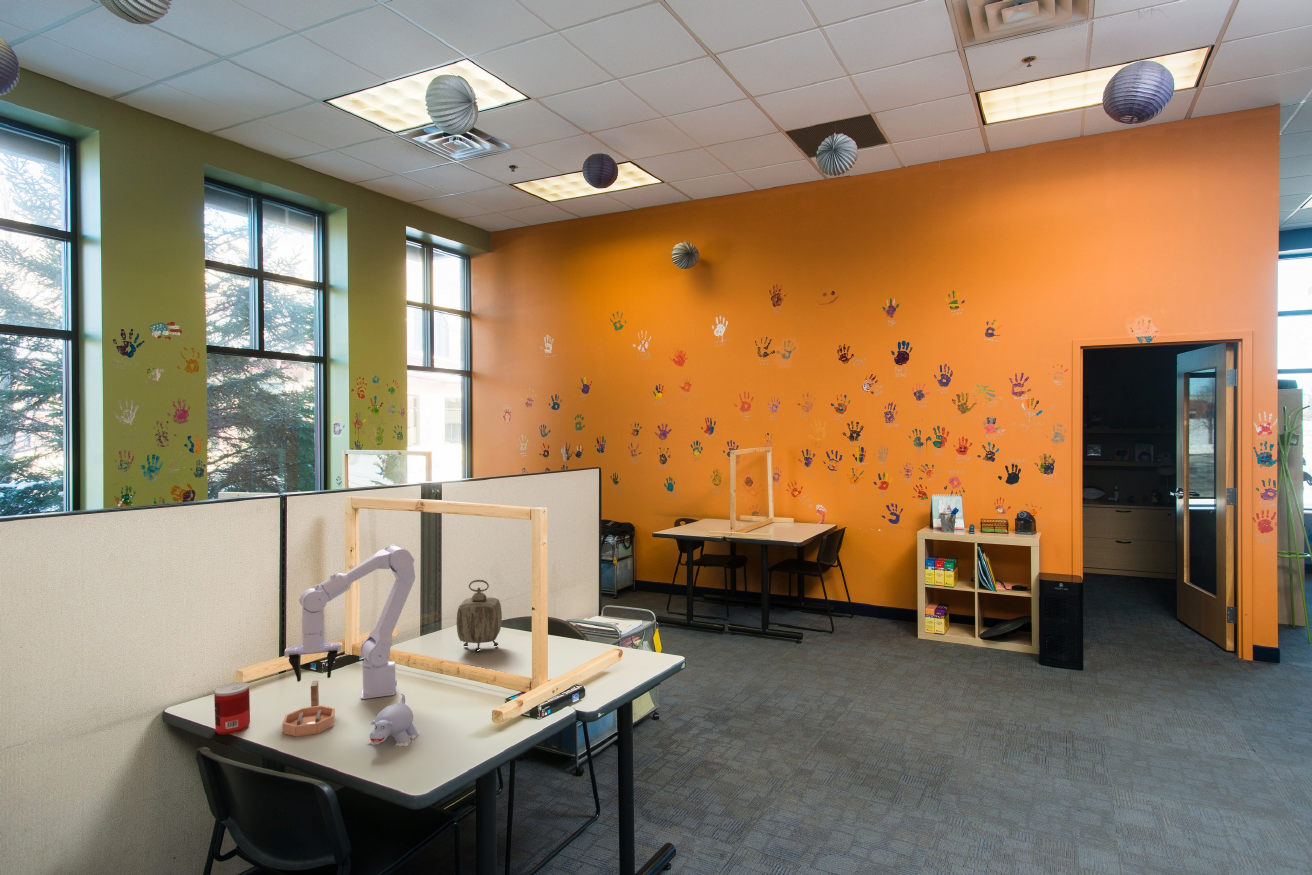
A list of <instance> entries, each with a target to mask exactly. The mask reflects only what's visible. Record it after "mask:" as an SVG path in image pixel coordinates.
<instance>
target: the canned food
mask: <svg viewBox="0 0 1312 875" xmlns="http://www.w3.org/2000/svg"><path fill="white" fill-rule="evenodd" d="M213 695H214V725H215V726H214V727H215V728H214V729H215V732H216V733H217V734H218V735H233V734H237V733H239V732H240V733H241V732H242V731H244V730H246V729H247V728H248V727H249V726H250V725H251V724H250V723H251V714H250V713H251V706H250V705H251V702H250V700H251V698H250V696H251V695H250V684H249V683H247V682H231V683H227V684H224V685H222V686H218V688H216V689H215V690H214V694H213Z"/></svg>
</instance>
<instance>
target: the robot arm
mask: <svg viewBox="0 0 1312 875" xmlns="http://www.w3.org/2000/svg"><path fill="white" fill-rule="evenodd" d="M414 563H415V559H414V557H413V555H412V554H411V552H410V551H409V550H408V549H405V548H402V547H400V546H399V545H397V544H391V545H388V546H386V547H385V548H382V549H380V550H378V551H377V552H376V553H374V554H373V555H371V556H370V557H368V558H367V559H365V560H364V561H362V562H361V563H359V564H358V565H356V566H354V567H353V568H351V569H350V570H349V571H347V572H345V573H342V572H338V573H332V574H330V575H329V578H327V579H326V580H324V581H322V582H320V583H319V584H318V583H316V584H314V585H313V587H312V588H311V587H310V588H307V589H305V590H304V591H303V592H302V594H301V595H300V596H299V597H300V598H299V603H300V605H301V606H302V609H301V610H302V611H301V612H302V616H301V635H302V636H301V638H302V639H301V640H302V642H301V643H302V645H300V646H299V645H298V646H294V647H287V648H285V650H284V658H288V663H289V664H290V665H291V667H292V670H293V671H294V674H295V677H296V681H297V683H299V682H301V680H302V672H301V670H302V669H301V662H302V661H301V660H302V659H301V657H302V656H303V655H306V656H307V655H312V654H313V655H314V654H322V653H327V655H326V660H327V661H326V662H327V674H326V676H327V677H326V678H327V679H330V678H331V675H332V669H333V665H334V662H335V660H336V658H337V655H338V653H339V652H342V651H343V644H342V643H343V642H335V643H334V642H332V643H330V642H328V643H327V642H326V641H325V640H326V639H325V638H326V636H325V634H326V632H325V612H324V611H325V610H324V609H325V607H326V605H327V603H330V602H331V601H333V600H334V599H335V598H337V597H339V596H340V595H342V594H344V593H345V592H347V591H349V590H350V588H351V585H352V583H354V582H356V581H358V580H359V579H362V578H363V577H365V576H367V575H368V574H371V573H373V572H374V571H376V570H379V569H380V570H391V572H392V574H393V575H394V576H393V577H395V581H394V583H393V585H392V587H391V590H390V593H389V595H388V597H387V599H386V601H385V604H384V606H383V609H382V611H381V614H380V616H379V618H378V621H377V623H376V625H375V627H374V629H373V630H371V632H370V633H369V635H368V637H367V638H366V639H365V640H364V641H362V643H361V646H360V653H361V656H362V657H363V658H364V659H363V662H362V688H361V696H360V699H361V700H366V699H372V698H373V699H375V698H380V697H388V696H395V695H396V690H397V689H396V688H397V684H398V682H397V681H398V680H397V679H396V674H397V673H396V661H390V656H391V647H392V645H393V633H394V630H395V628H396V626H397V623H398V620H399V618H400V616H401V614H402V612H403V609H404V606H405V604H406V602H407V600H408V597H409V594H410V592H411V589H412V587H413V584H414V582H415V580H416V575H415V566H414Z"/></svg>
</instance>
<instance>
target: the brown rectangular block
mask: <svg viewBox="0 0 1312 875" xmlns="http://www.w3.org/2000/svg"><path fill="white" fill-rule="evenodd" d="M319 696H320V695H319V680H312V682H311V685H310V707H313V706H320V705H319V704H320V703H319V701H320V700H319V698H320V697H319Z"/></svg>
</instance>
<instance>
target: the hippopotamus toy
mask: <svg viewBox="0 0 1312 875" xmlns="http://www.w3.org/2000/svg"><path fill="white" fill-rule="evenodd" d="M400 695H401V698H400V699H401V700H400V702H398V703H393V704H391V705H390V704H389V705H388V706H386V707H384V708H383V709H382V710H380V711H379V712H378V714H377V715H376V717H375V719H374V720H371V723H370V725H372V726H373V725H374V729H373V730H372V731H371V732H370V733H369V741H368V742H367V745H372V746H378V745H380V744H381V743H384V742H385V741H386V740H387V739H388V737H391V736H393V738H394V739H395V741H396V743H395V746H396V747H408V746H409V745H410V744H411V743H412V740H414V739H416V737H418V736H419V732H418V730H417V729H416V727H415V725H414V723H413V721H414V713H413V711H412V709H411V707H410V706H408V705H407V704H406V696H405V694H404V693H401V694H400Z"/></svg>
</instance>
